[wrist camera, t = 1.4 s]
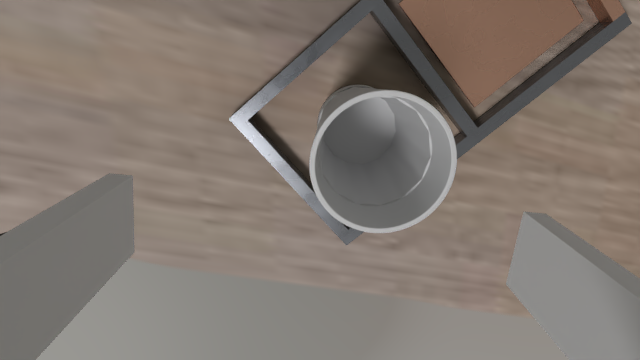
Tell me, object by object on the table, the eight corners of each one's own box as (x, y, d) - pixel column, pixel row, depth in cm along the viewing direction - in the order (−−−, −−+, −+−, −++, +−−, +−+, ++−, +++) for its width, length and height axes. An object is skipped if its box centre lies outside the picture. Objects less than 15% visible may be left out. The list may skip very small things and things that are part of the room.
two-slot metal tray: (344, 237, 38) (346, 245, 36) (231, 115, 34) (228, 118, 33) (617, 23, 33) (631, 23, 32) (520, -143, 30) (531, -152, 28)
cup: (416, 83, 34) (475, 104, 23) (393, 179, 36) (436, 242, 25) (316, 65, 33) (323, 77, 22) (299, 164, 36) (298, 222, 24)
